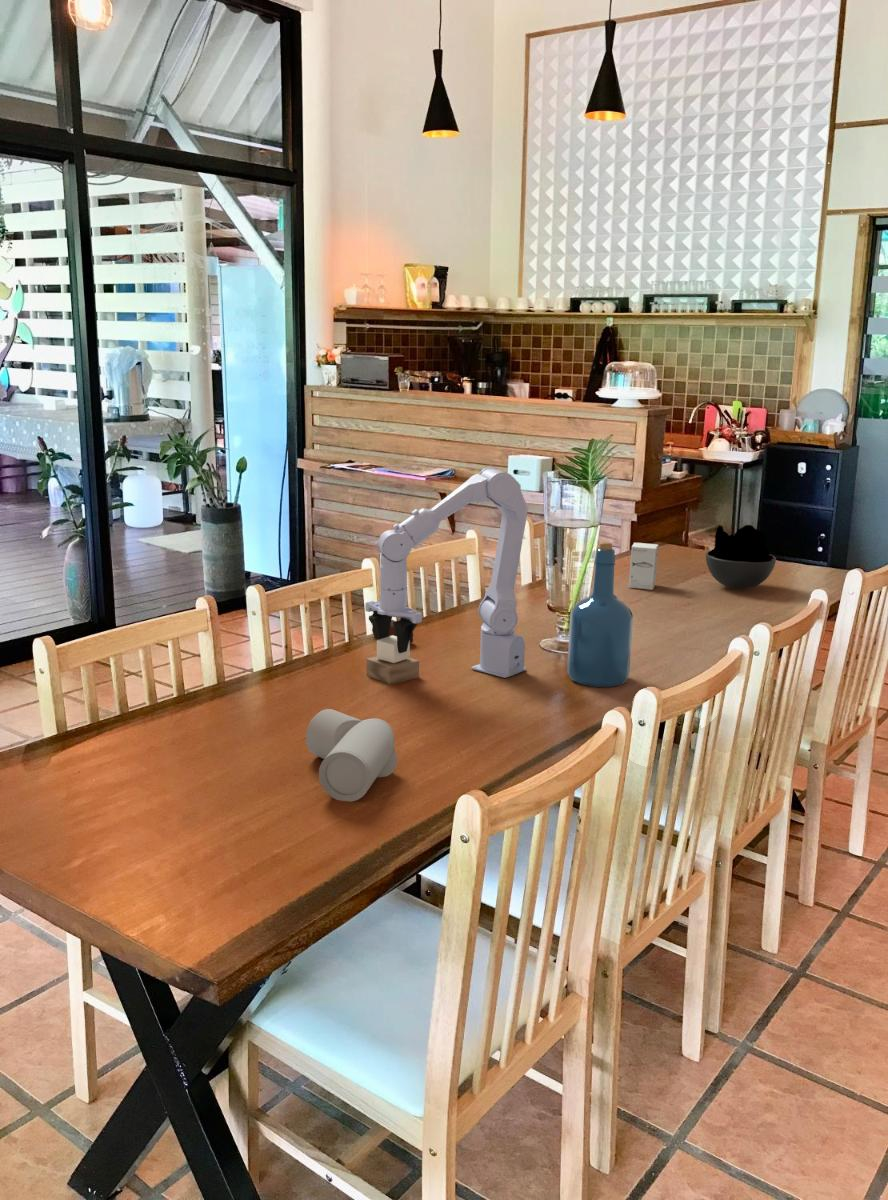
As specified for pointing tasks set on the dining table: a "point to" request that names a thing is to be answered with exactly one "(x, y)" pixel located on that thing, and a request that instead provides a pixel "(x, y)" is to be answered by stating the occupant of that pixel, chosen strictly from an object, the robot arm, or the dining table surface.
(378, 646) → the block
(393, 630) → the brick
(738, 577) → the coal bowl
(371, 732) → the grey cylindrical cross piece
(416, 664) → the base
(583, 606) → the wine bottle
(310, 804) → the dining table surface
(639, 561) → the supplement box
